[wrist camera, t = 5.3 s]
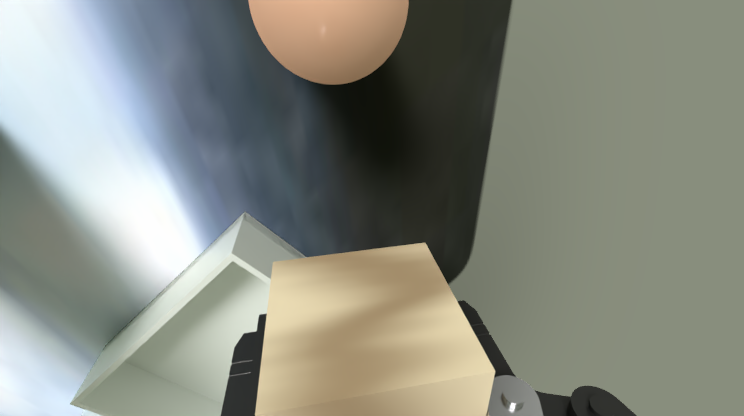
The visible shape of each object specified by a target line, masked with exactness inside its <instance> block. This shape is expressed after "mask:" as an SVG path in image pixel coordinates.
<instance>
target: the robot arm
mask: <svg viewBox="0 0 744 416" xmlns="http://www.w3.org/2000/svg"><path fill="white" fill-rule="evenodd" d="M458 304H459V306H460V307H461V309H462V311H463V313H464V315H465V317H466V318H467V320H468V322H469V324H470V326H471V328H472V329H473V331H474V333H475V335H476V337H477V339H478V340H479V342H480V344H481V346H482V348H483V350H484V351H485V353H486V355H487V357H488V359H489V361H490V362H491V364H492V366H493V368H494V370H495V375H494V380H493V385H492V390H491V395H490V400H489V405H488V410H487V414H486V416H636V415H635V414H634V413H633V412H632V411H630V409H628V408H627V407H626V406H625V405H624V404H623V403H622V402H620V401H619V400H618V399H617V398H616V397H615V396H613V395H612V394H610V393H609V392H607V391H605V390H602V389H600V388H597V387H593V386H582V387H579V388H577V389H575V390H574V392H573V393H572V396H571V397H568V396H561V395H553V394H546V393H541V392H538V391H535V390H534V389H533V388H532V387H531V386H530V385H529V384H527V383H526V382H525V381H523V380H521V379H519V378H517V377H516V376H515V375H514V374H513V372H512V371H511V369H510V367H509V365H508V364H507V362H506V360H505V359H504V357H503V355H502V354H501V352H500V350H499V349H498V347H497V345H496V344H495V342H494V340H493V338H492V337H491V335H489V332H488V330H487V329H486V327H485V325H483V322H482V320H481V318H480V317H479V315H478V313H477V311H476V310H475V309H474V308H472V307H471V306H470V305H469V304H468V303H466V302H465V301H458ZM266 316H267V314H260V315H259V318H258V325H257V331H256V332H249V333H244V334H243V335H242V337H241V338H240V340H239V341H238V343H237V344H236V346H235V347H234V352H233V357H232V362H231V363H232V365H231V367H230V372H229V378H228V382H227V387H226V392H225V397H224V401H223V406H222V411H221V416H255V411H256V402H257V393H258V385H259V376H260V368H261V359H262V351H263V342H264V334H265V325H266Z"/></svg>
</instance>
